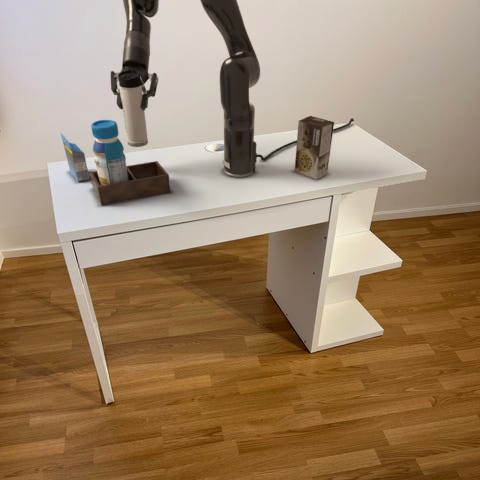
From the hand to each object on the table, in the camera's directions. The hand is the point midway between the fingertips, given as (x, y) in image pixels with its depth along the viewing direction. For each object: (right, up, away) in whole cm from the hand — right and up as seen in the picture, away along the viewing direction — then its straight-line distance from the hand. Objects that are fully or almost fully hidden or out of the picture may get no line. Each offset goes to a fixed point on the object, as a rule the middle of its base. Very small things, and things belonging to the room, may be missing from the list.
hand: (131, 108), depth 134 cm
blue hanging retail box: (-19, -17, +10) cm, 27 cm away
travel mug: (0, -7, +9) cm, 11 cm away
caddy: (0, -24, +2) cm, 24 cm away
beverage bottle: (-5, -25, +1) cm, 26 cm away
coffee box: (+54, -15, +14) cm, 58 cm away
